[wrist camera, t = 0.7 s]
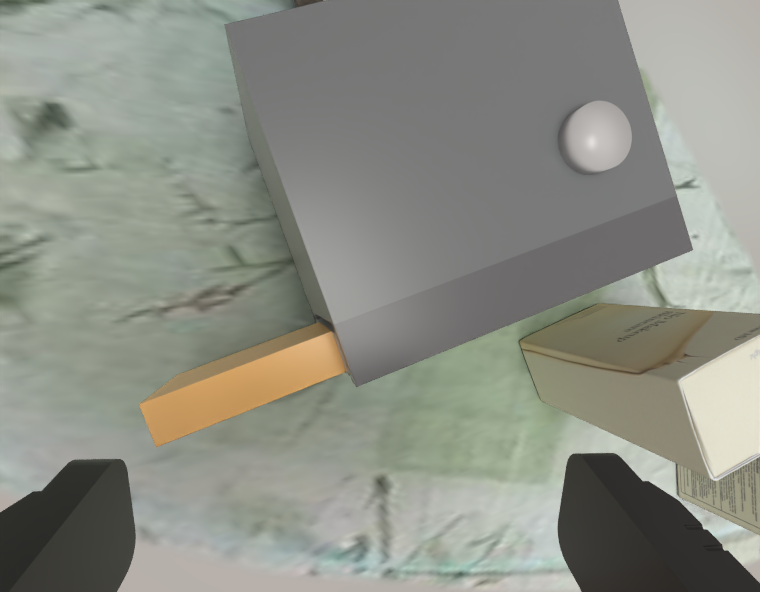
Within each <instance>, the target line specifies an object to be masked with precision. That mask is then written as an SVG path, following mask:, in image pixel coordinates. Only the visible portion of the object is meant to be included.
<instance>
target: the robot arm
mask: <svg viewBox="0 0 760 592" xmlns="http://www.w3.org/2000/svg"><path fill="white" fill-rule="evenodd" d="M558 538H559V543H560V548H561V551H562V554H563V557H564V559H565V561H566V563H567V565H568V567H569V569H570V571H571V573H572V574H573V576H574V578H575V580H576V582H577V584H578V585H579V587H580V589H581V591H582V592H760V583H759V582H758V581H757V580H756V579H755V578H754V577H753V576H752V575H751V574H750V573H749V572H748V571H747V570H746V569H745V568H744V567H743V566H742V565H741V564H740V563H739V562H738V561H737V560H736V559H735V558H734V557H733V555H732V554H731V553H730V552H729V551H724V550H723V547H722V544H721V543H720V542H719V541H718V540H717V539H716V538H715V537H714V536H713V535H712V534H711V533H710V532H709V531H708V530H704V529H703V527H702V524H701V523H700V522H699V521H698V520H697V519H696V518H695V517H694V516H693V515H692V514H691V513H690V512H689V511H688V510H687V509H686V508H685V507H684V506H683V505H682V503H681V502H680V501H678V500H677V499H675V498H674V497H672V496H671V495H669V494H667V493H666V492H664V491H663V490H661V489H660V488H658V487H657V486H655V485H653V484H652V483H650V482H649V481H642V480H641V479H640V478H639V477H638V476H637V475H636V474H635V472H634V471H633V470H632V469H631V468H630V467H629V466H628V465H627V464H626V463H625V462H624V461H623V460H622V458H621V457H619V456H618V455H617V454H614V453H588V454H572V455H571V456H570V457H569V459H568V462H567V466H566V472H565V479H564V486H563V492H562V499H561V506H560V512H559V519H558ZM135 539H136V533H135V524H134V517H133V509H132V502H131V494H130V487H129V480H128V472H127V467H126V465H125V463H124V461H123V460H121V459H91V460H73V461H71V462H69V463H68V464H67V465H66V466H65V467H64V468H63V469H62V470H61V471H60V472H59V473H58V474H57V475H56V477H55V478H54V479H53V480H52V481H51V482H50V483H49V484H48V485H47V486H46V487H45V488H44V489H43V490H42V491H36V492H32V493H30V494H29V495H27V496H26V497H24V498H22V499H21V500H19V501H18V502H16V503H15V504H13V505H11V506H10V507H8V508H7V509H5V510H4V511H2V512H0V592H117V590H118V588H119V587H120V585H121V583H122V581H123V579H124V577H125V576H126V574H127V572H128V569H129V567H130V564H131V561H132V558H133V553H134V548H135Z"/></svg>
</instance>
